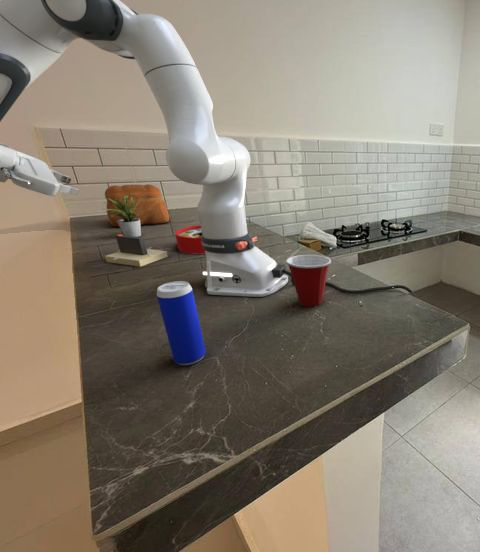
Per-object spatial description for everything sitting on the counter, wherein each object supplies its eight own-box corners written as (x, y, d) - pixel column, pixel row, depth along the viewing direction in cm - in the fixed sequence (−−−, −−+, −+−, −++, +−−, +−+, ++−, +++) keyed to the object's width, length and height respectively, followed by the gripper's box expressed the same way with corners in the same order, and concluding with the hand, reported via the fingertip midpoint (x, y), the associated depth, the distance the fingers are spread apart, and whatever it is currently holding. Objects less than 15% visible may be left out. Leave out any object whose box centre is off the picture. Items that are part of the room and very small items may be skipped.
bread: (171, 224, 148) (163, 186, 141) (110, 229, 135) (97, 188, 129) (168, 216, 160) (160, 181, 154) (111, 221, 148) (100, 183, 142)
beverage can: (211, 350, 64) (197, 280, 58) (197, 367, 59) (180, 293, 53) (184, 349, 64) (167, 279, 58) (168, 366, 59) (147, 292, 53)
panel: (172, 255, 111) (170, 249, 110) (135, 268, 99) (133, 261, 98) (137, 250, 114) (136, 245, 113) (98, 263, 102) (96, 256, 101)
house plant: (111, 232, 132) (99, 191, 126) (153, 229, 139) (143, 190, 133) (106, 241, 121) (92, 197, 115) (152, 237, 128) (141, 195, 122)
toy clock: (160, 235, 112) (199, 222, 130) (164, 251, 114) (202, 236, 133) (215, 239, 111) (246, 226, 129) (218, 256, 113) (248, 240, 131)
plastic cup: (339, 296, 88) (338, 255, 84) (319, 314, 79) (317, 269, 74) (304, 290, 91) (301, 249, 86) (281, 307, 81) (276, 262, 77)
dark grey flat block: (147, 253, 106) (143, 236, 103) (143, 255, 104) (138, 238, 102) (125, 250, 107) (120, 234, 105) (120, 252, 106) (115, 235, 104)
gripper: (9, 164, 75) (87, 188, 87) (-1, 140, 85) (70, 165, 97) (-1, 188, 76) (78, 209, 88) (-10, 162, 86) (61, 184, 98)
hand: (73, 186), depth 92 cm, fingers open, 8 cm apart
